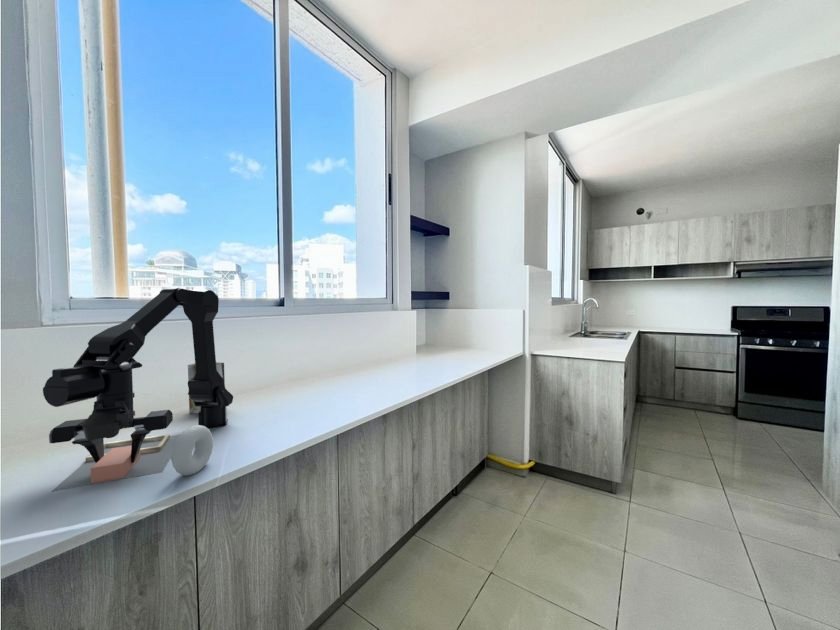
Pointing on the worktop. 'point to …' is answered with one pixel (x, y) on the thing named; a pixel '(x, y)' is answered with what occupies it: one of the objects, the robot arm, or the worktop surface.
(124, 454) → the card deck
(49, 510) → the worktop surface
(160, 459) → the mat
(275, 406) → the worktop surface
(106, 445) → the slot frame
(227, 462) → the worktop surface
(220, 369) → the coffee box
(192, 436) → the donut
